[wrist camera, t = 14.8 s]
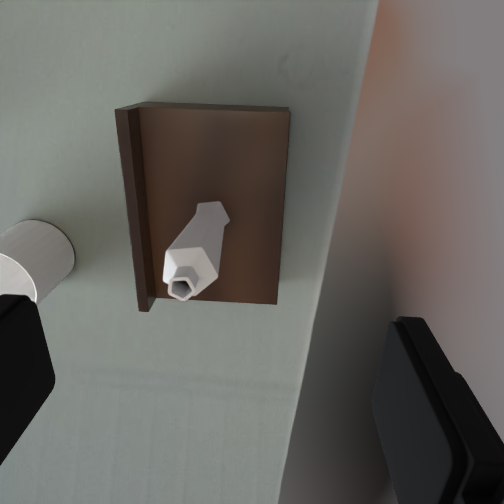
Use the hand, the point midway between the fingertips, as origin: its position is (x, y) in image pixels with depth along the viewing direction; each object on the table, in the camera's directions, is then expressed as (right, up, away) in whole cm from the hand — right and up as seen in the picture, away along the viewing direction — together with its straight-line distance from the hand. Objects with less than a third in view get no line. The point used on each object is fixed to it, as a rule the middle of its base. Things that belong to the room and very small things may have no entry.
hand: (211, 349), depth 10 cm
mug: (-28, +3, +41) cm, 50 cm away
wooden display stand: (-3, +9, +36) cm, 38 cm away
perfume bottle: (-3, +7, +31) cm, 32 cm away
